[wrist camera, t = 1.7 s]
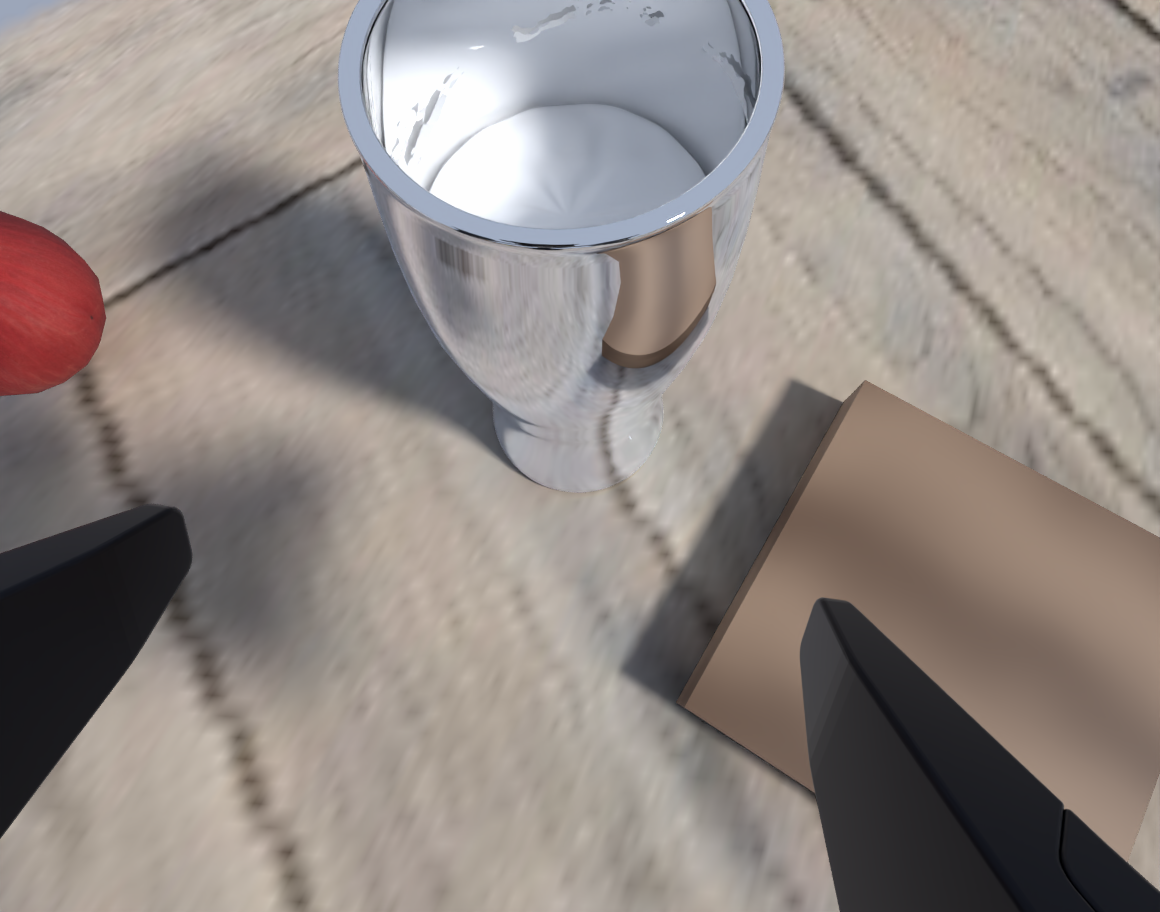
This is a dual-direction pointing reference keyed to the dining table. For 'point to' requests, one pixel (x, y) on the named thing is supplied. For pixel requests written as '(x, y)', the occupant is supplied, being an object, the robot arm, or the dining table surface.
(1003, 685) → the walnut board
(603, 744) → the dining table surface
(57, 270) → the onion
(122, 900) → the dining table surface
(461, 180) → the beer glass
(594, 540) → the dining table surface
